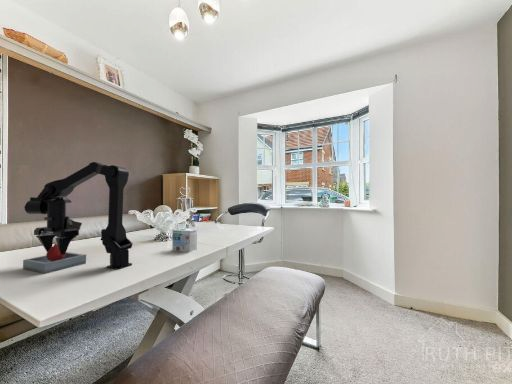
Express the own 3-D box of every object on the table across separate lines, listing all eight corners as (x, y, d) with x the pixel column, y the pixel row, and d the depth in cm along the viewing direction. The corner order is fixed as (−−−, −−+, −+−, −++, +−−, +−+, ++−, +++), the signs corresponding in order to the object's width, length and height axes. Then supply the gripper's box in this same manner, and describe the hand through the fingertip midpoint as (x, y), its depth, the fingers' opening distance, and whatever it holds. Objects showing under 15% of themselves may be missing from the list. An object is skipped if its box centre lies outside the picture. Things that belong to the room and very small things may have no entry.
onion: (69, 261, 94) (69, 241, 94) (55, 265, 88) (56, 244, 89) (56, 261, 95) (56, 242, 95) (42, 265, 89) (42, 244, 89)
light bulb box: (171, 250, 117) (171, 229, 117) (179, 248, 123) (179, 227, 123) (190, 252, 114) (190, 230, 114) (197, 249, 120) (197, 228, 120)
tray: (85, 263, 95) (86, 254, 95) (44, 273, 82) (44, 264, 82) (64, 259, 101) (65, 251, 101) (23, 269, 88) (23, 259, 88)
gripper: (92, 213, 96) (92, 250, 96) (65, 212, 103) (64, 247, 102) (62, 215, 85) (61, 257, 85) (33, 214, 92) (32, 253, 92)
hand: (56, 253), depth 92 cm, fingers open, 9 cm apart
